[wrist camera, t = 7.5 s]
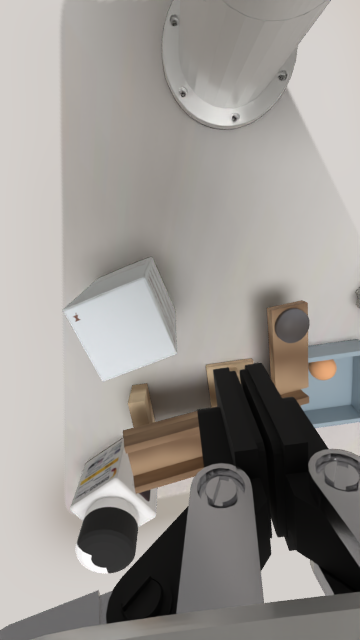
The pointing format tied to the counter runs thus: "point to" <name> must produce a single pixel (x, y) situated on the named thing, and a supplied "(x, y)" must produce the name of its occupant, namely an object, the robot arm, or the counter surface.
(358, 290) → the egg carton
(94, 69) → the counter surface
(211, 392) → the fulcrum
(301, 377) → the lever
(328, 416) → the dish
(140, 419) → the block
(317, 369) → the ball
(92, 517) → the container
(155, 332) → the supplement box
